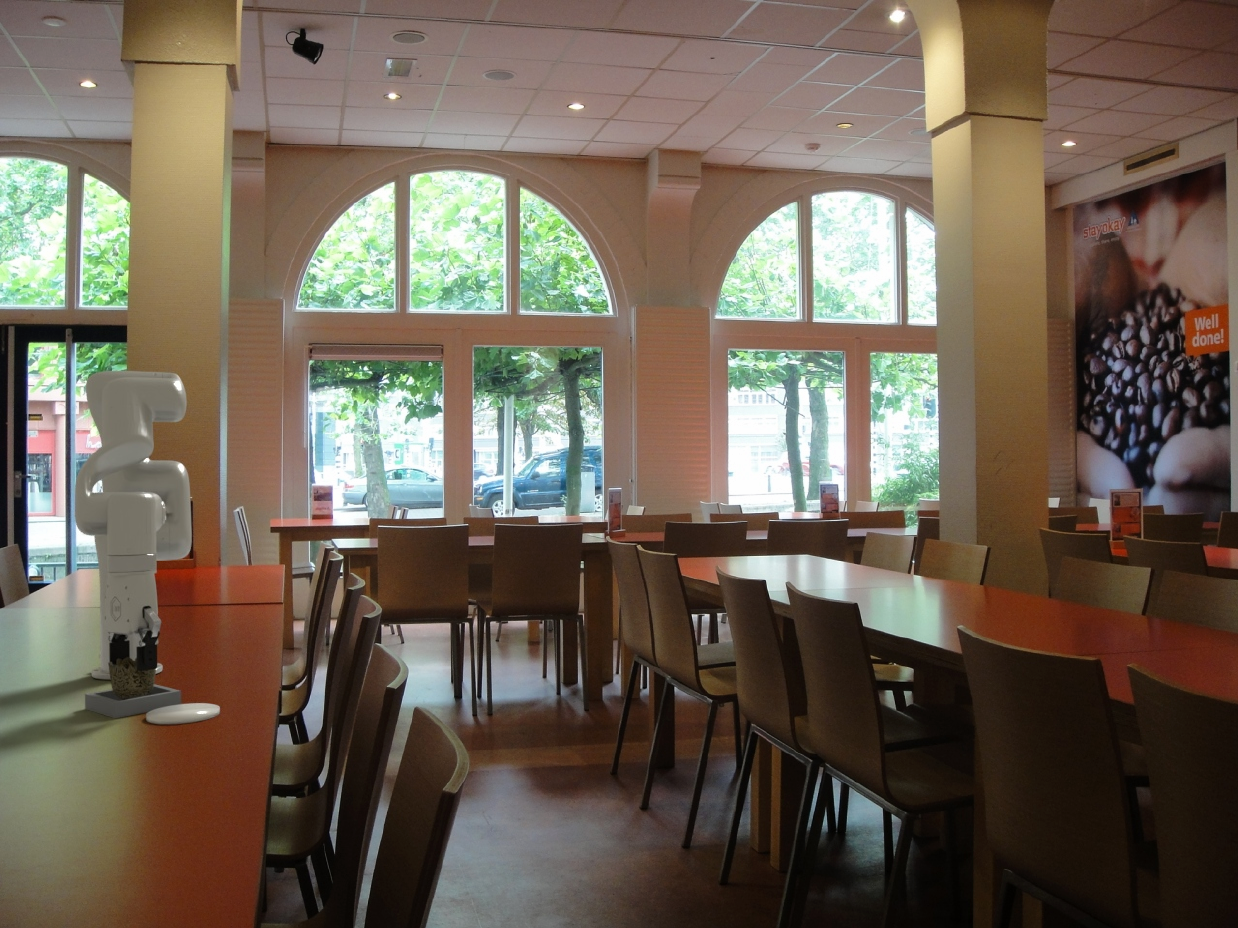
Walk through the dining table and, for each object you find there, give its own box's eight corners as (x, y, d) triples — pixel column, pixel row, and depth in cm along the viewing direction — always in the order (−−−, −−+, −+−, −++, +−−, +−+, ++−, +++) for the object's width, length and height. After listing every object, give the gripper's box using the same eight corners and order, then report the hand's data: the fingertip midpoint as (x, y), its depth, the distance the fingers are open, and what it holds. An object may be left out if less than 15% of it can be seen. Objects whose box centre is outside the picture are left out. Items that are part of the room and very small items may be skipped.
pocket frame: (85, 708, 171) (85, 693, 171) (149, 697, 179) (149, 682, 179) (115, 718, 164) (115, 702, 164) (181, 705, 173) (180, 690, 173)
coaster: (133, 717, 164) (133, 712, 164) (198, 704, 173) (198, 700, 173) (167, 727, 157) (167, 722, 157) (232, 714, 166) (232, 709, 166)
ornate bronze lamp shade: (138, 713, 167) (137, 664, 167) (98, 711, 169) (98, 663, 169) (166, 702, 175) (166, 656, 175) (128, 701, 176) (128, 655, 176)
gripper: (86, 565, 174) (87, 666, 174) (134, 568, 163) (135, 675, 163) (130, 563, 180) (131, 660, 180) (179, 565, 169) (180, 668, 169)
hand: (133, 667), depth 171 cm, fingers open, 9 cm apart
